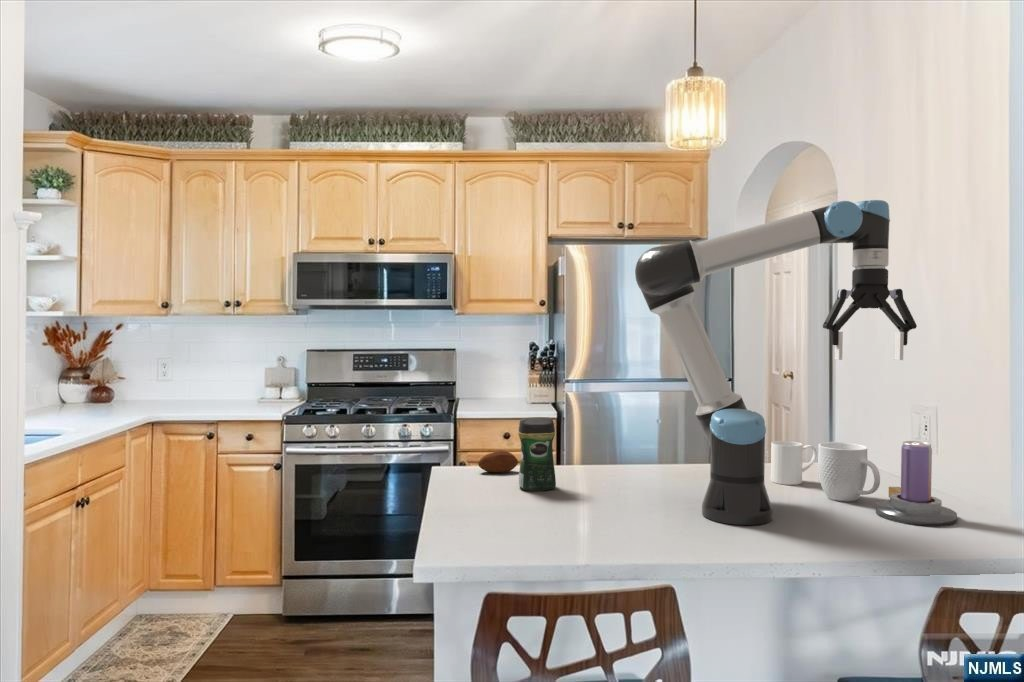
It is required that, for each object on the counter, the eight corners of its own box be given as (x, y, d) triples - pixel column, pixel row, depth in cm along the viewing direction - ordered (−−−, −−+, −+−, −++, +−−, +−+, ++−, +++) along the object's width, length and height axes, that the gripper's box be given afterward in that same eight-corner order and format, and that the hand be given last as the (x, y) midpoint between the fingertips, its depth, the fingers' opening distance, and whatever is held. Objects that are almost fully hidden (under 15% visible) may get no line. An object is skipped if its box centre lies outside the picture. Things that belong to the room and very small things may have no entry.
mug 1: (779, 485, 192) (779, 446, 192) (765, 479, 200) (766, 441, 200) (823, 484, 194) (823, 445, 193) (808, 477, 202) (808, 440, 201)
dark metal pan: (894, 525, 156) (894, 507, 156) (859, 502, 175) (859, 486, 175) (972, 527, 155) (972, 508, 155) (928, 503, 174) (928, 487, 174)
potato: (476, 471, 211) (476, 449, 211) (515, 469, 213) (515, 447, 213) (479, 475, 205) (479, 452, 205) (519, 473, 208) (519, 451, 207)
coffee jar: (552, 483, 195) (552, 414, 194) (558, 491, 187) (558, 419, 186) (516, 485, 194) (516, 415, 193) (520, 492, 186) (520, 420, 185)
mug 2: (891, 503, 175) (892, 449, 174) (865, 510, 169) (866, 454, 168) (834, 490, 187) (835, 440, 187) (808, 496, 181) (808, 444, 180)
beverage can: (918, 514, 160) (919, 446, 159) (894, 507, 165) (895, 441, 165) (936, 511, 162) (938, 444, 162) (912, 504, 168) (913, 440, 167)
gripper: (820, 267, 166) (818, 360, 167) (934, 267, 164) (932, 360, 165) (809, 269, 174) (808, 358, 175) (918, 268, 172) (916, 358, 173)
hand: (868, 359), depth 170 cm, fingers open, 13 cm apart
